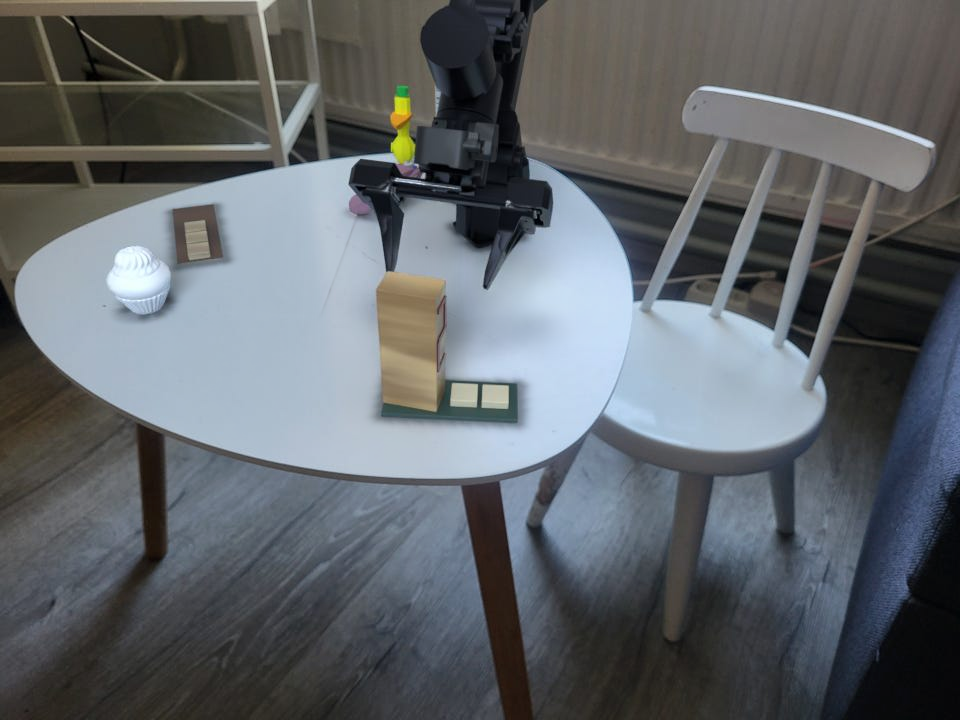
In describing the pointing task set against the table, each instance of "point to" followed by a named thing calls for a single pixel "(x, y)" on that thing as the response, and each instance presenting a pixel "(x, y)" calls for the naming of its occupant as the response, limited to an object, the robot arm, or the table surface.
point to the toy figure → (402, 126)
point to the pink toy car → (405, 170)
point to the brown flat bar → (196, 234)
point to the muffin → (139, 280)
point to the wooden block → (412, 339)
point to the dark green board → (467, 403)
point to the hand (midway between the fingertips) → (437, 281)
